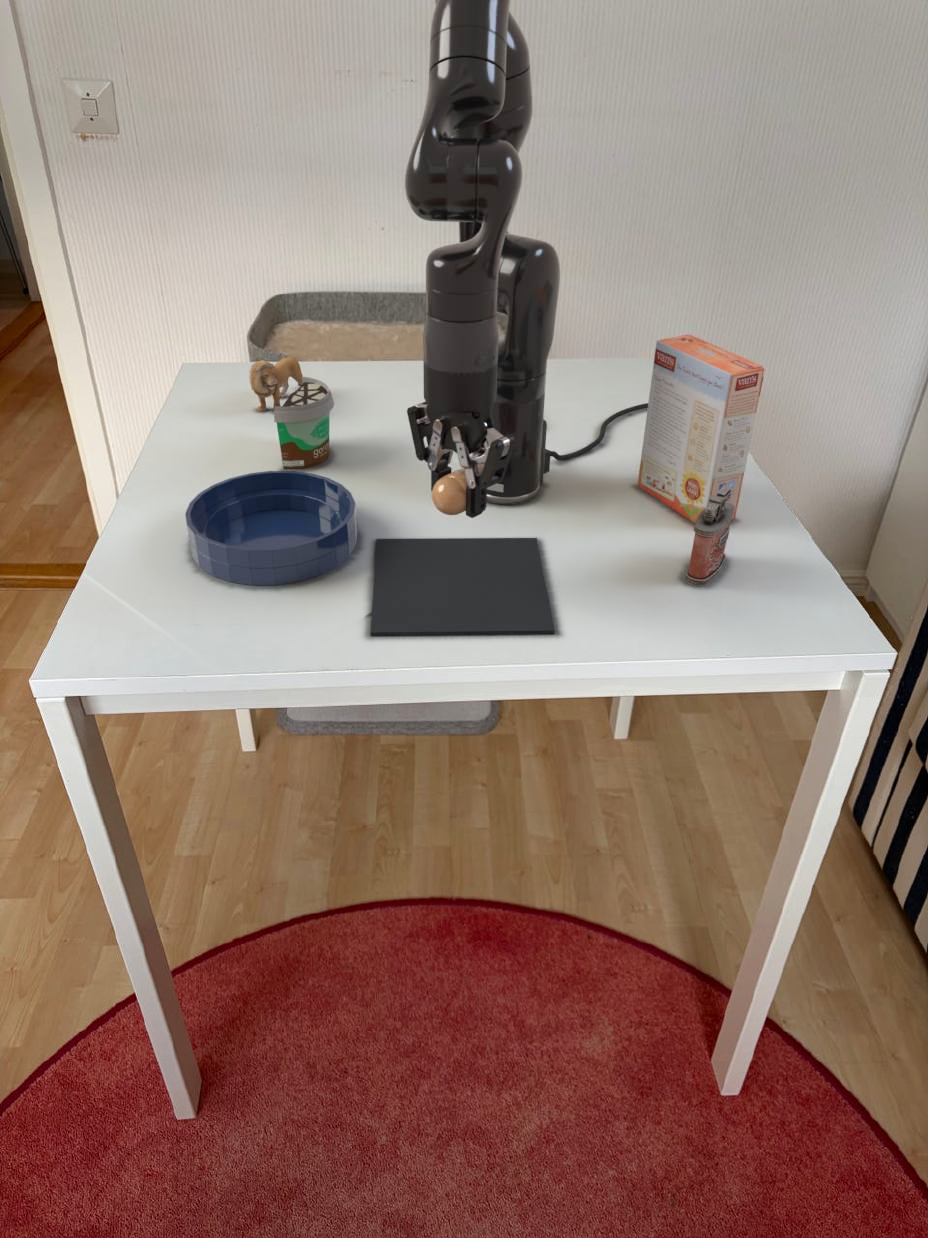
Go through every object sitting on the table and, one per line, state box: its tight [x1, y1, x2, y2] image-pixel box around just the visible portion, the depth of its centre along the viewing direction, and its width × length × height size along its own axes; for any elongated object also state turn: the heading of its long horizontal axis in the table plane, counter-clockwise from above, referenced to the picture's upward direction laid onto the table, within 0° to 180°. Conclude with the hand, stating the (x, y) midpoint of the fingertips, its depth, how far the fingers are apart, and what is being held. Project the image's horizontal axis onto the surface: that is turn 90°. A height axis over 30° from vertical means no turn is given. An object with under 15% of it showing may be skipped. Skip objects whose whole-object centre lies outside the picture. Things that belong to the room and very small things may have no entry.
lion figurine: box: [248, 356, 304, 413], centre depth 154 cm, size 15×5×9 cm, turn 164°
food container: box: [273, 376, 335, 471], centre depth 138 cm, size 12×6×10 cm, turn 168°
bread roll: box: [431, 468, 477, 516], centre depth 106 cm, size 6×4×4 cm
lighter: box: [684, 486, 735, 587], centre depth 114 cm, size 8×3×10 cm, turn 148°
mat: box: [369, 537, 556, 637], centre depth 113 cm, size 20×20×1 cm
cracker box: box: [637, 334, 766, 524], centre depth 125 cm, size 14×6×21 cm, turn 29°
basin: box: [184, 470, 358, 586], centre depth 119 cm, size 20×20×5 cm
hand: (458, 506), depth 107 cm, fingers closed on bread roll, 4 cm apart
